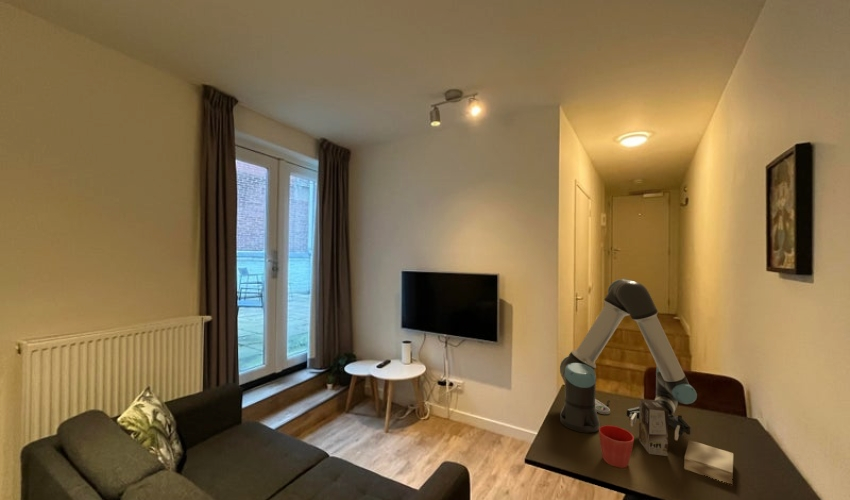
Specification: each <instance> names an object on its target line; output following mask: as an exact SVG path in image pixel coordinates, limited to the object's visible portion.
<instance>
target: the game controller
mask: <svg viewBox="0 0 850 500" xmlns="http://www.w3.org/2000/svg"><path fill="white" fill-rule="evenodd" d="M609 401H610V400H607V404H604V403H603V402H601V401H600V400H598V399H596V398H595V409H596V412H598V413H597V414H601V415H610V414H611V409H610V408H609V407H608V406H609V404H610V402H611V401H610V402H609Z"/></svg>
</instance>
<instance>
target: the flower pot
mask: <svg viewBox="0 0 850 500" xmlns="http://www.w3.org/2000/svg"><path fill="white" fill-rule="evenodd" d="M598 436H599V441H600V450H601V456H602V459H603V461H604V462H605V463H607V464H608V465H610V466H612V467H615V468H621V469H624V468H627V467H629V463H630V459H631V456H632V451H633V447H634V442H635V437H634V435H633V434H632V433H631V432H630V431H628V430H627V429H625V428H622V427H619V426H616V425H602V426H600V428H599V430H598Z"/></svg>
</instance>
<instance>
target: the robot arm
mask: <svg viewBox="0 0 850 500" xmlns="http://www.w3.org/2000/svg"><path fill="white" fill-rule="evenodd" d="M603 303H604V306H603V308H602V309H601V311H600V313H599V314H598V315H597V317H596V319H595V321H594V322H593V323H592V325H591V327H590V328H589V330H588V331H587V333H586V334H585V337H584V338H583V340H582V341H581V342H580V344H579V346H578V347H577V349H575V350H571V351H570V352H569V355H567V356H566V357H564V358H563V359H562V361H560V365H559V373H560V376H561V378H562V380H563V383H564V403H563V406H562V409H561V411H560V414H559V420H560V423H561V424H562V425H563V426H564V427H566V428H567V429H570V430H572V431H576V432H579V433H586V434H588V433H589V434H590V433H595V432H599V428H600V427H601V426H600V425H601V424H600V423H601V421H600V419H599V414H598V413H597V412H596V409H595V399H596V390H597V389H596V388H597V387H596V385H597V384H596V383H597V375H596V371H595V370H596V368H597V365H596V361H597V359H598V358H599V356H600V355H601V354H602V352H603V350H604V349H605V346H606V345H607V344H608V342H609V341H610V339H611V337H612V336H613V335H614V333H615V331H616V330H617V329H618V327H619V325H620V323H621V322H622V321H623V319H624V318H625V317H627V316H630V318H631V319H632V320H633V321H635V322H636V324H637V326H638V328H639V330H640V333H641V335H642V337H643V339H644V341H645V343H646V345H647V347H648V349H649V352H650V354H651V356H652V358H653V360H654V362H655V364H656V369H655V370H656V371H655V376H656V377H655V398H654V400H657V401H658V402H659V403H660V404H662V405H663V406H664V407H665V408H666V409H667V410H668V411H669V412H668V426H669V425H670V426H671V427H672V428H674V429H675V430H674V440H675V441H678V440H679V436H683V437H684V433H686V434H687V435H691V427H690V426H689V424H688V423H687V422H686V421H685V420H684V419H683V417H682V415H677V416H675V412H676V409H677V407H678V406H679V403H680V404H683V405H690V404H693V403H694V402H696V400H697V398H698V394H697V391H696V390H695V388H694V387H693V386H692V385H691V384H690V383H689V381H688V378H687V377H686V374H685V372H684V370H683V369H682V366H681V364H680V362H679V360H678V358H677V356H676V354H675V351H674V350H673V347H672V345H671V343H670V341H669V339H668V337H667V335H666V332H665V331H664V329H663V326H662V324H661V322H660V320H659V318H658V316H657V315H658V313H659V312H658V309H657V307H656V305H655V302H654V300H653V298H652V296H651V294H650V292H649V290H648V289H647V288H646V286H644V285H643V284H642V283H640V282H637V281H635V280H634V281H633V280H631V279H627V278H622V279H620V278H619V279H616V280H614V281H613V282H611V284H610V285H609V286H608V290H607V295H606V296H605V298H604V300H603ZM626 417H629V418H628V419H629V421H630V427H634V426H635V424H636V422H637V421H638V420H639V406H635V407H632V408H628V409H626Z"/></svg>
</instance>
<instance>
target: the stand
mask: <svg viewBox="0 0 850 500" xmlns="http://www.w3.org/2000/svg"><path fill="white" fill-rule="evenodd" d="M683 458H684V461H683V462H684V465H683V469H684V470H687V471H690V472H692V473H696V474H697V475H701V476H704V475H705V476H704V477H706V476H708V477H707V478H709V477H710V478H709V479H712V478H713V480H715V479H717V480H716V481H718V480H719V481H718V482H721V481H723V482H722V483H724V482H727V483H731V484H732V485H733V480H732V479H733V478H734V477H733V476H734V475H733V473H734V453H733V452H730V451H728V450H724V449H720V448H717V447H714V446H711V445H707V444H704V443H702V442H701V443H700V442H698V441H694V440H691V439H689V440H688V443H687V446H686V450H685V454H684V457H683Z"/></svg>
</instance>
